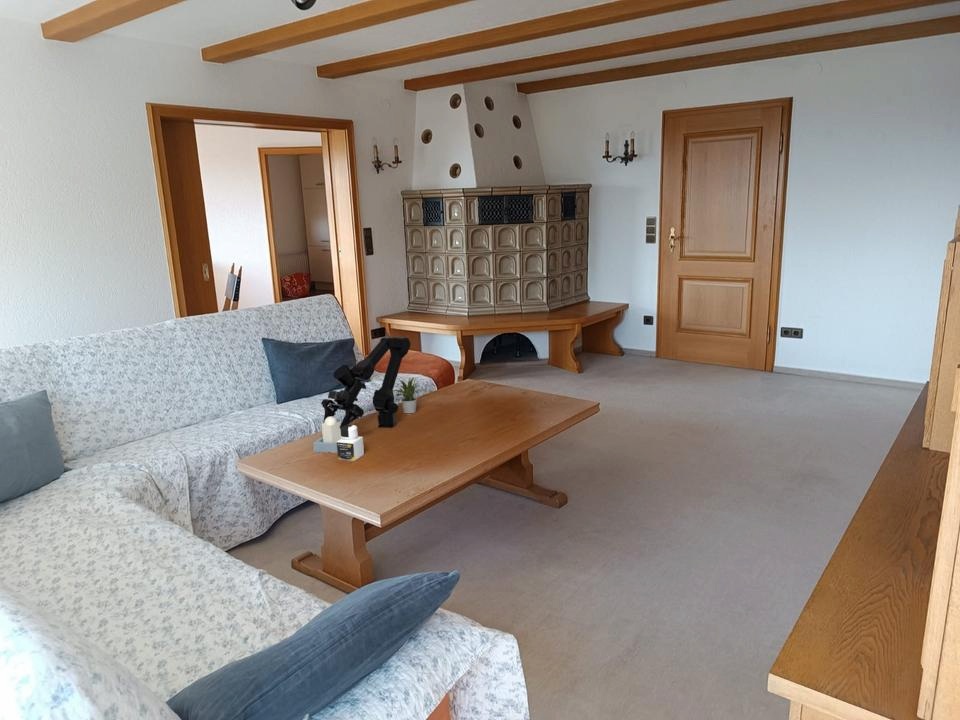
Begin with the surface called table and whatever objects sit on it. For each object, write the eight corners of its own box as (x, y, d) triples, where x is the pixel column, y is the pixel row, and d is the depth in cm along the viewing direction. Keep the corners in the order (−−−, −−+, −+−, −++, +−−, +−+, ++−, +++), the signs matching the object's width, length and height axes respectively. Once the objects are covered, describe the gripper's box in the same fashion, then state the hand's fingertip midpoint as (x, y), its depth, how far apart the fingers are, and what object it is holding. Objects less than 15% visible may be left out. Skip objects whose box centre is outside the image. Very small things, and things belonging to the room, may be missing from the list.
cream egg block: (333, 444, 259) (330, 414, 256) (342, 446, 256) (339, 415, 253) (323, 448, 255) (320, 417, 252) (332, 450, 252) (329, 419, 249)
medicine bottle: (337, 459, 242) (334, 428, 240) (347, 453, 249) (345, 422, 246) (354, 461, 240) (352, 429, 237) (364, 454, 246) (362, 423, 244)
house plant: (398, 407, 307) (396, 373, 304) (427, 407, 305) (425, 372, 302) (390, 416, 293) (387, 380, 290) (420, 416, 291) (418, 380, 288)
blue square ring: (352, 443, 259) (351, 434, 259) (340, 453, 249) (339, 444, 248) (326, 442, 262) (325, 433, 261) (313, 451, 252) (312, 443, 251)
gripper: (322, 379, 260) (303, 412, 254) (356, 384, 250) (336, 419, 243) (338, 393, 268) (320, 427, 262) (372, 399, 258) (353, 434, 251)
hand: (332, 426), depth 254 cm, fingers open, 9 cm apart
